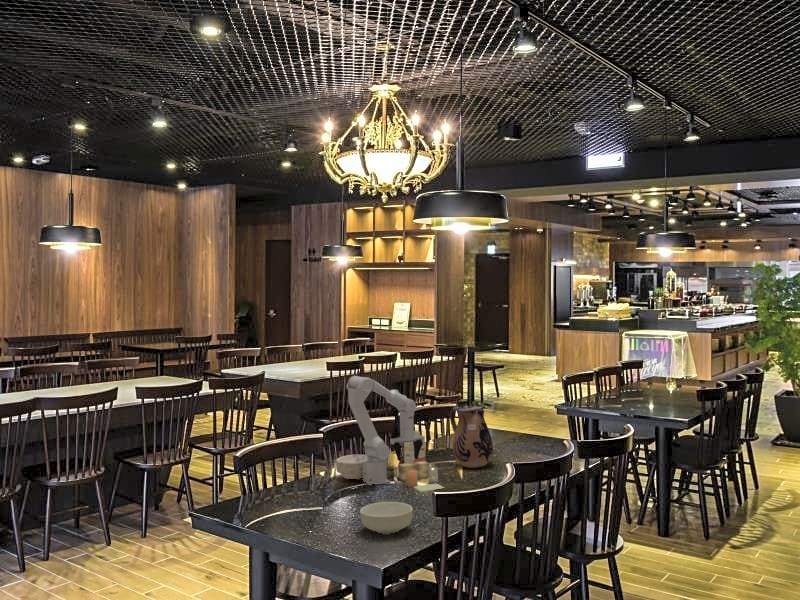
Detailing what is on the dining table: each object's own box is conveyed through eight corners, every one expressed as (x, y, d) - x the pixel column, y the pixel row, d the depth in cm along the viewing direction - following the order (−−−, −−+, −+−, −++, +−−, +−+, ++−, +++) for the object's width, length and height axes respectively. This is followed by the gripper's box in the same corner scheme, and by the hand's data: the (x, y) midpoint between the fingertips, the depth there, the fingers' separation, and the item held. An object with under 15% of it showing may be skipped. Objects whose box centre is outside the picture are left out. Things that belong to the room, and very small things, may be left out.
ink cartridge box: (426, 462, 319) (425, 429, 319) (421, 464, 315) (420, 431, 315) (409, 460, 323) (408, 428, 323) (404, 463, 319) (403, 430, 319)
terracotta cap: (409, 487, 279) (409, 472, 279) (405, 485, 283) (405, 470, 283) (419, 486, 281) (418, 471, 281) (415, 483, 284) (414, 468, 284)
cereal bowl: (411, 521, 239) (411, 500, 239) (414, 538, 222) (414, 515, 222) (361, 523, 238) (360, 501, 238) (360, 540, 222) (359, 517, 222)
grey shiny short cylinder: (430, 484, 283) (430, 469, 282) (426, 482, 286) (426, 467, 286) (439, 483, 284) (439, 468, 284) (435, 481, 288) (435, 466, 288)
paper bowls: (329, 480, 293) (329, 460, 293) (347, 471, 307) (347, 453, 307) (362, 483, 287) (362, 463, 287) (379, 474, 301) (379, 455, 300)
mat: (421, 492, 272) (421, 491, 272) (413, 488, 278) (413, 486, 278) (444, 489, 275) (444, 487, 275) (436, 484, 282) (436, 483, 282)
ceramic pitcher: (480, 472, 298) (478, 413, 298) (438, 466, 311) (436, 409, 311) (501, 464, 312) (499, 406, 312) (460, 458, 325) (458, 403, 325)
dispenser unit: (401, 481, 288) (401, 466, 288) (396, 478, 293) (396, 464, 293) (430, 477, 293) (430, 463, 293) (425, 474, 298) (425, 460, 298)
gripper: (418, 423, 305) (419, 455, 305) (387, 427, 299) (388, 459, 299) (425, 426, 298) (426, 459, 298) (393, 430, 293) (394, 463, 293)
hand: (407, 459), depth 298 cm, fingers open, 7 cm apart
